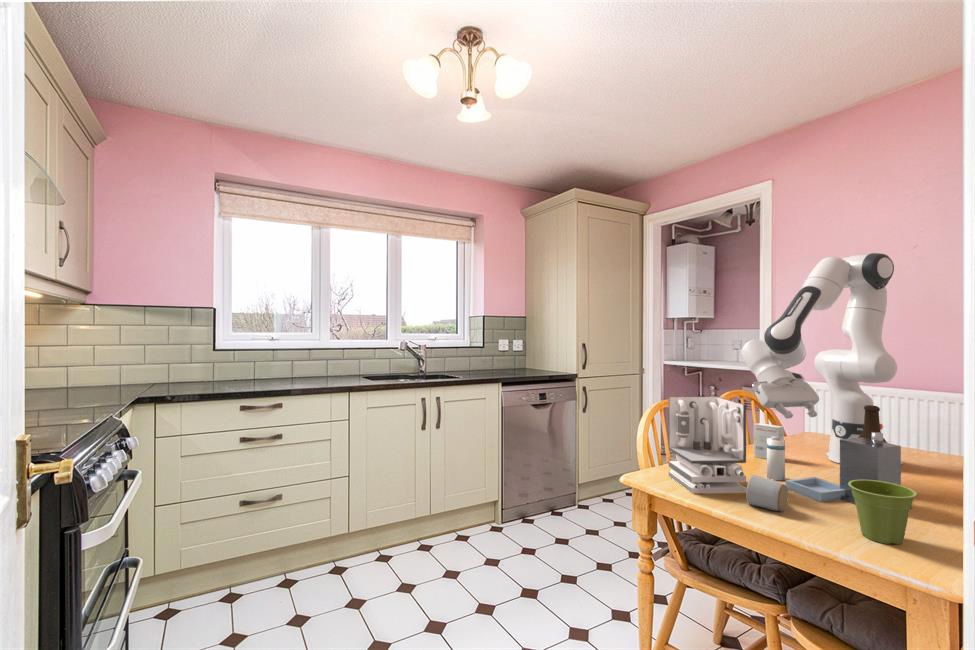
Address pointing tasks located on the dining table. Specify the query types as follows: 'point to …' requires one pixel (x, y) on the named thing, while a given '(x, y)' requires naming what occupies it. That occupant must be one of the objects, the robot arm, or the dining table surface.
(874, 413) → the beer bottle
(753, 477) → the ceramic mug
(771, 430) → the ink box
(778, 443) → the cylinder
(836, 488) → the tray
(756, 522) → the dining table surface
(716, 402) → the pipe room model
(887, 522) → the plant pot
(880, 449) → the block
